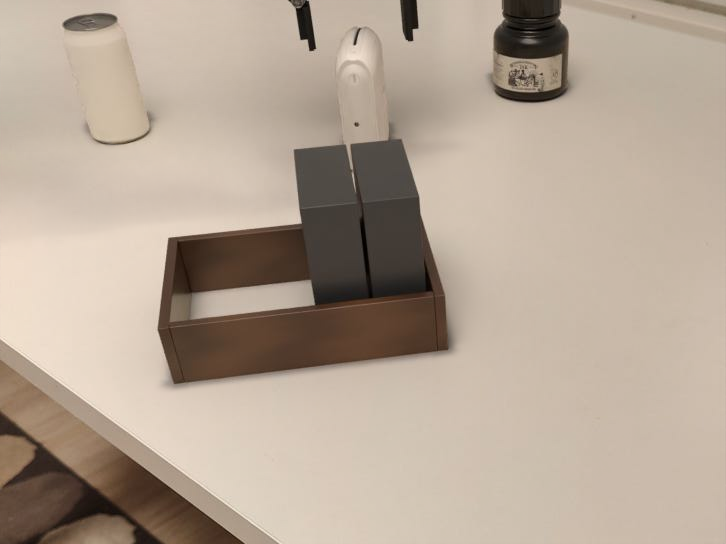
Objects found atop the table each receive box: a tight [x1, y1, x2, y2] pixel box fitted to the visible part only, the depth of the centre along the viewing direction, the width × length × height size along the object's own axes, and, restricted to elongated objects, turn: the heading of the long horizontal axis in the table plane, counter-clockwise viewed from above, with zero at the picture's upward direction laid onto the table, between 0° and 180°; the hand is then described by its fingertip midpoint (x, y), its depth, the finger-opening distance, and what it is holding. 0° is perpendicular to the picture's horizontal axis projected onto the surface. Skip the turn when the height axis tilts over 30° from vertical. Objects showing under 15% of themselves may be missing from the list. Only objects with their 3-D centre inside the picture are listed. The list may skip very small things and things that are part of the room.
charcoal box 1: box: [293, 143, 370, 305], centre depth 72 cm, size 4×10×12 cm, turn 11°
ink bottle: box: [492, 0, 570, 101], centre depth 110 cm, size 10×9×12 cm
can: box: [61, 12, 151, 145], centre depth 103 cm, size 6×6×12 cm
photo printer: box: [334, 26, 390, 172], centre depth 98 cm, size 10×4×12 cm, turn 0°
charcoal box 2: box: [350, 138, 426, 299], centre depth 73 cm, size 4×10×12 cm, turn 11°
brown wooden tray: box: [156, 216, 449, 385], centre depth 75 cm, size 21×14×6 cm, turn 101°
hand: (360, 41), depth 94 cm, fingers open, 9 cm apart
